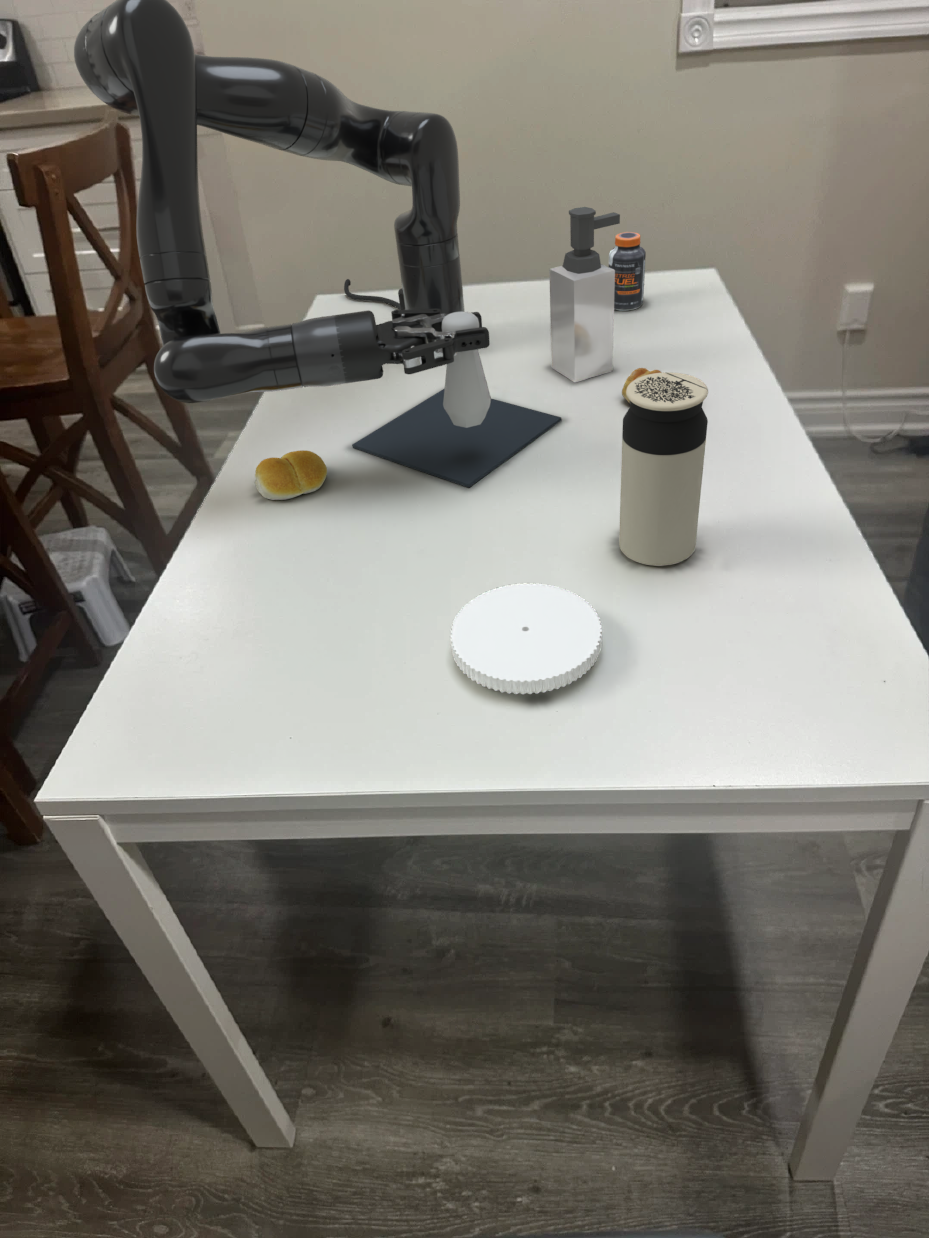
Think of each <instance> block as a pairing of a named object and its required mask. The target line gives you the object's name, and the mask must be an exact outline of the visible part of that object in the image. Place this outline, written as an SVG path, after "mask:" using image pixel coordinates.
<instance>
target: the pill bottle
mask: <svg viewBox="0 0 929 1238" xmlns="http://www.w3.org/2000/svg"><path fill="white" fill-rule="evenodd" d="M614 245H615V246H614V247H613V248H612V249H610V251H609V254H608V267H609V268H612V269H614V270H615V288H614V311H622V312H623V311H625V312H627V311H633V310H636V309H639V308H640V307H642V306H643V304H644V297H645V296H644V295H645V279H646V278H645V277H646V276H645V275H646V257H647V256H646V255H647V254H646V250H645V249H644V247H642V246H641V234H640V233H639V232H634V231H624V232H620V233H617V234H616V235H615V238H614Z"/></svg>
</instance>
